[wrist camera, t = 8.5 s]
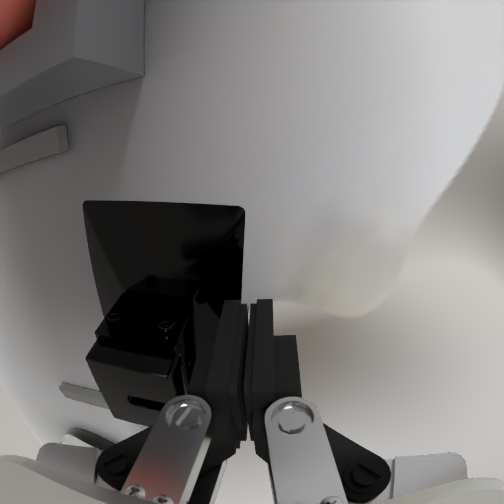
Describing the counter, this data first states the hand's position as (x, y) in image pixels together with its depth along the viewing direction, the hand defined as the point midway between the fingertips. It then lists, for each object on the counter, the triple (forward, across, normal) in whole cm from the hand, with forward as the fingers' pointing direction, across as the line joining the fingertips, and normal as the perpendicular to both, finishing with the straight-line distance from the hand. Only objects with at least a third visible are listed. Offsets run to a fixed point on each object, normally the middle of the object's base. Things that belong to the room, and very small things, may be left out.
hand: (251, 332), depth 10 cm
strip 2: (+1, +10, +7) cm, 13 cm away
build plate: (+2, +4, +1) cm, 4 cm away
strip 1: (+1, +10, -8) cm, 13 cm away
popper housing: (+1, +7, -13) cm, 15 cm away
